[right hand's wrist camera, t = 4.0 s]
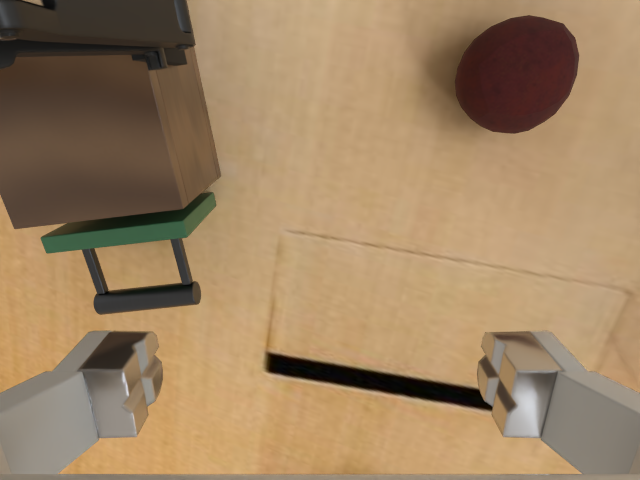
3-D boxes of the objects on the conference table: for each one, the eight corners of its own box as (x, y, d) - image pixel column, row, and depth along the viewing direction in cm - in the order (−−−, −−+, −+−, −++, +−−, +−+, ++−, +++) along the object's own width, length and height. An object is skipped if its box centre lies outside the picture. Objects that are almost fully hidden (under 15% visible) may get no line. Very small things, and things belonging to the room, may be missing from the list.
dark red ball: (434, 45, 31) (463, 35, 24) (540, 7, 30) (600, -14, 23) (455, 141, 33) (486, 156, 27) (554, 109, 32) (612, 116, 26)
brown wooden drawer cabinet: (221, 176, 35) (183, 209, 26) (95, 191, 35) (14, 229, 26) (181, -12, 30) (117, -54, 21) (36, 10, 31) (-88, -22, 21)
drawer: (230, 269, 37) (207, 315, 29) (123, 281, 37) (74, 328, 30) (180, 42, 30) (134, 29, 23) (52, 60, 31) (-32, 53, 24)
